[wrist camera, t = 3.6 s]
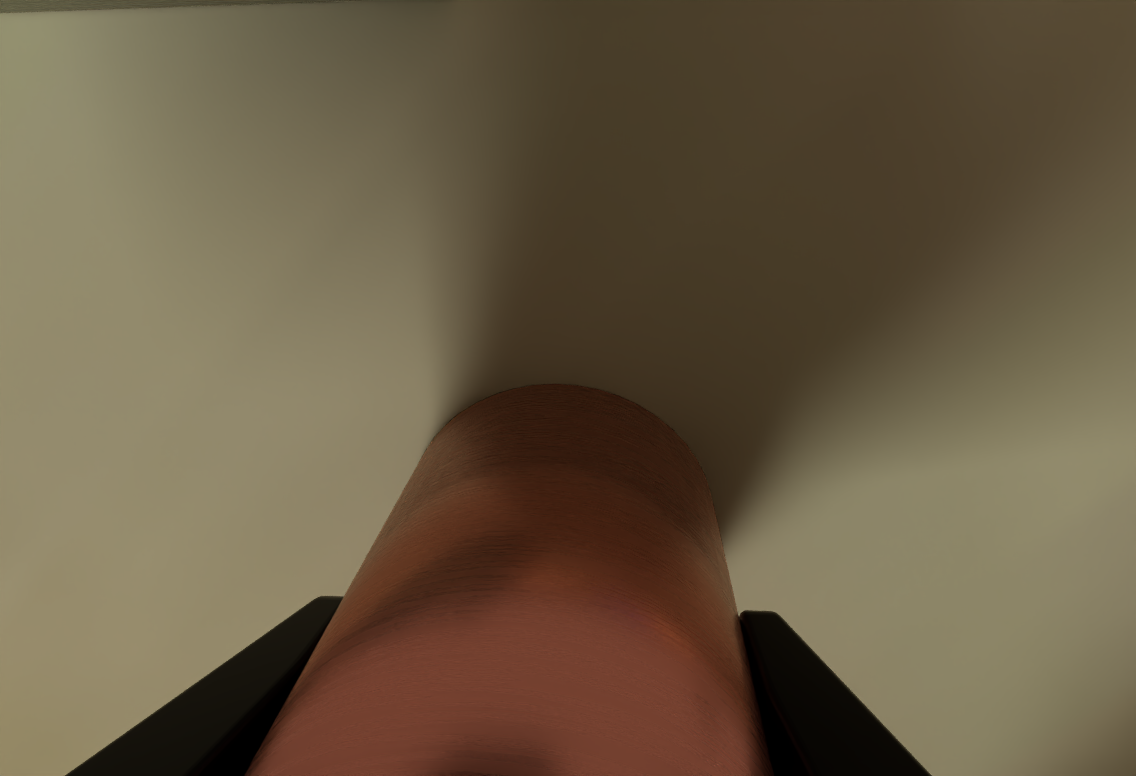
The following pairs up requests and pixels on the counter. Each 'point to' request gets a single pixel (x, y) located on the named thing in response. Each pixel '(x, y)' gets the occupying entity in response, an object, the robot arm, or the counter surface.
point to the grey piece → (124, 4)
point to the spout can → (535, 612)
